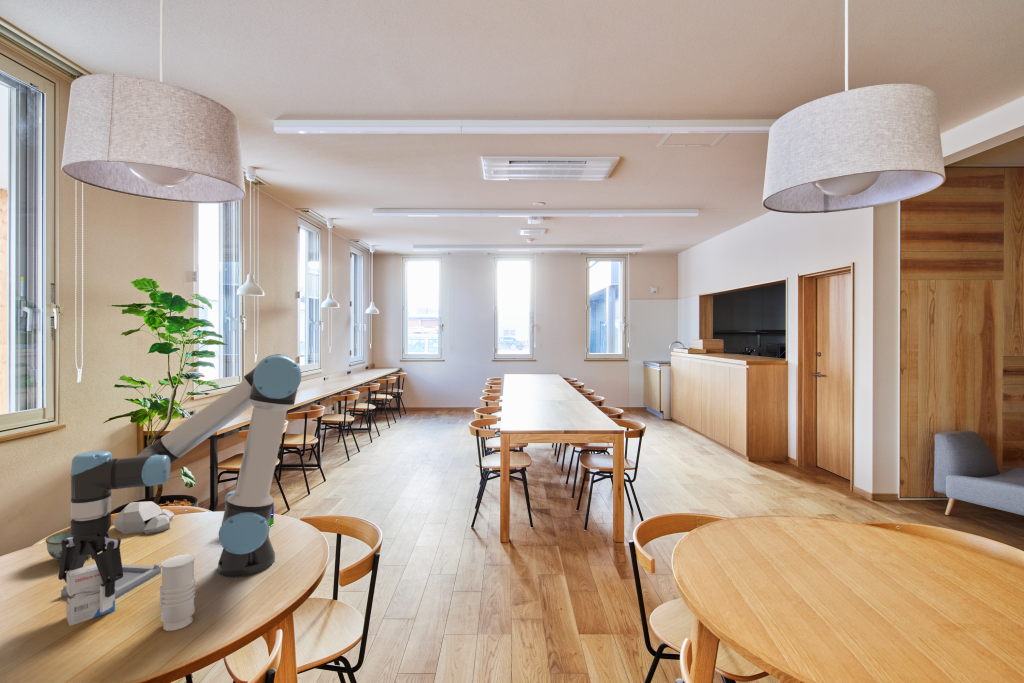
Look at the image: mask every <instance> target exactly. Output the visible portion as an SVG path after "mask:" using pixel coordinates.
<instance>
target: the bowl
mask: <svg viewBox="0 0 1024 683" xmlns="http://www.w3.org/2000/svg"><path fill="white" fill-rule="evenodd" d="M69 537H72V535H71V528H70V529H67V530H62V531H59V532H57V533H54V534H51V535H49V536H48V537H47V538H46V539H45V542H46V550H47V553H48V554H49V556H50V557H51V558H53V559H54V560H57V561H60V562H61V555H62V544H61V541H62V540H64V539H67V538H69ZM89 556H90V555H87V558H88V557H89Z"/></svg>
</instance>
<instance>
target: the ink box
mask: <svg viewBox="0 0 1024 683" xmlns="http://www.w3.org/2000/svg"><path fill="white" fill-rule="evenodd" d="M66 572H67V583H66V585H67V592H66V594H67V597H66V615H65V616H66V622H67V623H68V626H70V627H72V626H74V625H77V624H81V623H83V622H86V621H89V620H91V619H95V618H98V617H101V616H104V615H107V614H109V613H113V612H115V611H116V599H115V593H114V595H113V607H111V608H109V609H108V610H106V611H104V612H100V585H101V584H103V581H102V579H101V576H100V573H99V570H98V568H97V565H96V563H94V564H89V565H85V566H83V567H82V568H78V569H74V570H70V571H66ZM108 578H110V577H108Z"/></svg>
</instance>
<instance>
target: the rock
mask: <svg viewBox="0 0 1024 683" xmlns="http://www.w3.org/2000/svg"><path fill="white" fill-rule="evenodd" d="M174 517H175V513H174V512H172V511H170V510H169V509H165V508H163V509H161V507H160V505H158V504H157V503H155V502H154V501H152V500H151V501H150V500H149V501H135V502H134V501H133V502H131V501H130V503H128V504H127V505H126V506H125V507H124V508H123V509H122V510H121V511H120V512H119V513H118V514H117V515H116V516H115V517H114V518H112V519H111V522H112V523H113V526H114V529H115V530H117V531H118V532H119V533H122V534H124V535H128V534H129V535H130V534H139V533H144V534H146V535H151V534H155V533H161V532H163V531H166V530H169V529H171V526H170V525H171V524H170V523H171V522H172V520H173V518H174ZM146 521H148V522H147V523H146Z"/></svg>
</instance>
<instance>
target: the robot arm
mask: <svg viewBox="0 0 1024 683" xmlns="http://www.w3.org/2000/svg"><path fill="white" fill-rule="evenodd" d="M301 371H302V370H301V368H300V366H299V365H298V362H296V360H294V358H291V357H290V356H288V355H284V354H279V353H278V354H277V353H276V354H271V355H268V356H266V357H264V358H263V359H262V360H260V361H259V363H258V364H256V366H255V367H254V368H253V369H252V370H251V371H249V372H248V373H247V374H245V375H244V376H242V380H241V381H240V382H239V383H238V384H236V386H234V387H232V388H231V389H230V390H228V391H227V392H225V393H224V394H222V395H221V396H220V397H218V398H216V399H215V400H213V402H210V403H209V404H208V405H206V406H205V407H204V408H202V409H200V410H199V411H197V412H196V413H195V414H193V415H192V416H190V417H189V418H188V419H186V420H185V421H183V422H182V423H181V424H179V425H178V426H176V427H175V428H173V429H172V430H171V431H169V432H168V433H166V434H165V435H163V436H162V437H161V438H159V439H158V440H156V441H155V442H153V443H152V444H150V445H148V446H146V447H145V448H143V449H142V450H141V451H140V452H139V453H138V454H137V455H136V456H132V457H126V458H125V457H123V458H113V456H112V452H111V451H108V450H94V451H93V450H92V451H86V452H82V453H78V454H77V455H75V456H73V458H72V460H71V471H70V514H69V515H70V518H71V519H72V520H71V521H70V529H71V535H72V537H69V538H67V539H64V540H62V541H61V544H62V555H61V561H60V562H59V569H58V570H59V571H58V576H57V577H58V578H57V579H58V580H60V581H61V580H63V581H64V582H65V583H66V584H67V571H70V570H74V569H78V568H82V567H84V565H85V563H86V560H87V558H88V557H87V555H89V556H90V557H91V559H92V560H94V562H95V564H96V565H97V568H98V570H99V573H100V576H101V579H102V581H103V584H101V585H100V612H104V611H106V610H108V609H109V608H111V607H113V595H114V593H115V581H117V580H119V579H121V578H122V577H123V569H122V565H123V563H122V562H123V561H122V556H121V554H122V553H121V548H120V546H121V543H122V540H121V538H119V537H117V538H116V539H113V538H111V537H110V534H109V530H110V529H111V527H112V513H110V512H111V510H112V490H119V489H129V488H130V489H131V488H140V487H154V486H156V485H157V486H159V485H164V484H167V482H168V481H169V479H170V476H171V470H172V469H171V468H172V467H171V466H172V464H174V463H175V462H177V461H178V460H179V459H180V458H181V457H183V456H185V455H186V454H187V453H189V452H190V451H191V450H193V449H194V448H196V447H197V446H199V444H200V445H201V443H202V442H204V441H206V440H207V439H208V438H210V437H211V436H213V435H214V434H215V433H217V432H218V431H220V430H221V429H222V428H223V427H225V426H227V425H228V424H229V423H230V422H232V421H233V420H235V419H236V418H237V417H240V415H242V414H243V413H245V412H246V411H247V410H249V409H250V408H252V407H253V408H252V413H251V419H250V422H249V427H248V430H247V437H246V441H245V444H244V450H243V454H242V458H241V459H242V460H241V465H240V468H239V472H238V477H237V482H236V486H235V489H234V490H231V491H229V492H227V493H226V494H225V499H224V500H223V501H224V502H223V503H224V513H223V517H222V521H221V526H220V527H219V531H218V539H219V543H220V545H221V547H222V551H221V554H220V557H219V560H218V563H217V573H218V574H219V575H220V576H222V577H225V578H242V577H243V578H244V577H248V576H253V575H256V574H259V573H261V572H264V571H266V570H268V569H270V568H271V567H272V566H273V565H274V564H275V561H276V552H275V551H274V548H273V544H272V542H271V539H270V535H269V533H270V527H269V522H270V517H271V512H272V507H273V502H274V501H275V500H274V499H275V498H273V496H272V495H271V494H270V492H271V488H272V483H273V479H274V475H275V474H274V473H275V469H276V464H277V459H278V455H279V451H280V446H281V440H282V435H283V431H284V426H285V421H286V417H287V412H288V410H289V409H290V408H292V407H293V406H294V405H295V402H296V397H297V393H298V388H299V386H300V385H301V382H302V372H301ZM273 563H274V564H273ZM272 564H273V565H272ZM270 566H271V567H270ZM108 577H110V578H108Z"/></svg>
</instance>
